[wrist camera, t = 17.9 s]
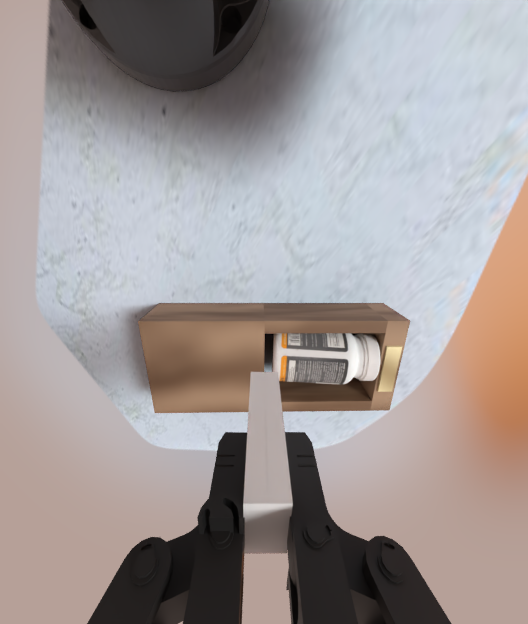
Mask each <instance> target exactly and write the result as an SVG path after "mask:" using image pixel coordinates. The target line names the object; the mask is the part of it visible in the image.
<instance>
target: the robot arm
mask: <svg viewBox="0 0 528 624" xmlns="http://www.w3.org/2000/svg"><path fill="white" fill-rule="evenodd" d="M62 2H63V3H64V5H65V6H66V8H67V9H68V11H69V12H70V14H71V15H72V17H73V18H74V19H75V21H76V22H77V23H78V25H79V26H80V27H81V28H82V30H83V31H84V32H85V33H86V34H87V35H88V37H89V38H90V39H91V40H92V41H93V42H94V43H95V44H96V45H97V46H98V48H99V49H100V50H101V51H102V52H103V53H104V54H105V55H106V56H107V57H108V58H109V59H110V60H111V61H112V62H113V63H114V64H115V65H117V66H118V67H119V68H120V69H121V70H123V71H124V72H126V73H127V74H128V75H130V76H132V77H133V78H135V79H137V80H139V81H140V82H142V83H145V84H147V85H149V86H152V87H155V88H159V89H163V90H169V91H189V90H195V89H199V88H202V87H206V86H208V85H210V84H212V83H214V82H216V81H218V80H220V79H221V78H223V77H224V76H225V75H227V74H228V73H229V72H230V71H231V70H233V69H234V68H235V67H236V66H237V65H238V63H239V62H240V61H241V60H242V59H243V57H244V56H245V55H246V54H247V52H248V51H249V49H250V48H251V46H252V44H253V42H254V41H255V39H256V37H257V35H258V32H259V30H260V28H261V25H262V23H263V20H264V17H265V14H266V11H267V7H268V3H269V0H62ZM287 549H288V560H289V571H288V578H287V590H289V598H290V611H291V624H451V622H450V621H449V619H448V618H447V616H446V614H445V613H444V611H443V609H442V608H441V606H440V605H439V603H438V602H437V600H436V598H435V597H434V595H433V593H432V592H431V590H430V589H429V587H428V586H427V584H426V582H425V580H424V579H423V577H422V576H421V574H420V572H419V571H418V569H417V567H416V566H415V564H414V562H413V561H412V559H411V558H410V556H409V555H408V554H407V552H406V551H405V550H404V549H403V547H402V546H400V545H399V544H398V543H397V542H395V541H394V540H393V539H390V538H388V537H385V536H376V537H374V538H373V539H371V540H370V541H367V540H364V539H362V538H359V537H356V536H354V535H351V534H349V533H347V532H345V531H344V530H342V529H341V528H340V527H338V526H337V524H336V523H335V522H334V521H333V520H332V518H331V517H330V515H329V513H328V510H327V507H326V504H325V499H324V495H323V490H322V486H321V481H320V477H319V472H318V468H317V463H316V459H315V456H314V450H313V446H312V442H311V441H310V439H309V438H308V436H307V435H306V433H305V432H285V430H284V421H283V412H282V403H281V394H280V385H279V376H278V372H251V377H250V395H249V412H248V430H247V433H233V432H225V434H224V435H223V437H222V439H221V440H220V442H219V445H218V450H217V457H216V462H215V468H214V473H213V479H212V484H211V490H210V496H209V499H208V500H207V501H206V502H205V504H204V505H203V506H202V508H201V510H200V512H199V515H198V526H197V527H195V528H194V529H193V530H192V531H191V532H189V533H187V534H185V535H183V536H180V537H178V538H176V539H173V540H170V541H168V542H166V541H164V540H163V539H161V538H158V537H150V538H148V539H145V540H143V541H141V542H140V543H139V544H137V545H136V546H135V547H134V548H132V550H131V551H130V553H129V554H128V555H127V556H126V558H125V559H124V561H123V563H122V565H121V566H120V568H119V570H118V571H117V573H116V575H115V576H114V578H113V580H112V582H111V583H110V585H109V587H108V589H107V591H106V592H105V594H104V596H103V597H102V599H101V601H100V603H99V604H98V606H97V608H96V609H95V611H94V613H93V615H92V616H91V618H90V620H89V622H88V623H87V624H178V623H180V622H182V621H183V624H242V602H243V601H242V600H243V569H244V553H287Z"/></svg>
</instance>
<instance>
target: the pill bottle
mask: <svg viewBox="0 0 528 624" xmlns="http://www.w3.org/2000/svg"><path fill="white" fill-rule="evenodd" d="M379 369H380V349H379V345H378V341H377V340H376V338H375V337H374V336H373V335H372V334H364V333H359V334H357V335H355V336H353V335H352V334H351V333H278V334H274V339H273V360H272V372H278V376H279V381H286V382H306V383H321V384H340V385H342V384H346V383H348V382H350V381H351V380H352V378H356V379H359V380H360V381H373V380H375V379H376V377H377V375H378V373H379Z"/></svg>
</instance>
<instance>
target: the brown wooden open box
mask: <svg viewBox="0 0 528 624" xmlns="http://www.w3.org/2000/svg"><path fill="white" fill-rule="evenodd" d="M138 324H139V330H140V335H141V341H142V346H143V351H144V357H145V362H146V368H147V373H148V379H149V384H150V389H151V395H152V400H153V406H154V411H155V413H199V412H249V395H250V377H251V372H264V341H265V334H278V333H364V334H372V335H373V336H374V337H375V338H376V340H377V341H378V345H379V349H380V369H379V373H378V375H377V377H376V379H375V380H373V381H360V380H359V379H356V378H352V380H351V381H350V382H348V383H346V384H342V385H340V384H321V383H306V382H286V381H279V385H280V394H281V403H282V412H283V411H367V410H390V405H391V401H392V397H393V393H394V388H395V384H396V380H397V375H398V371H399V367H400V362H401V358H402V354H403V350H404V345H405V341H406V337H407V332H408V328H409V324H410V320H408V319H407V318H405V317H404V316H402V315H400V314H399V313H397V312H396V311H394V310H393V309H391V308H390V307H388V306H387V305H385V304H384V303H159V304H158V305H157V306H156V307H155V308H153V309H152V310H151V311H150V312H149V313H147V314H146V315H145V316H144V317H143V318H141V319H140V320H139V321H138Z"/></svg>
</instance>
